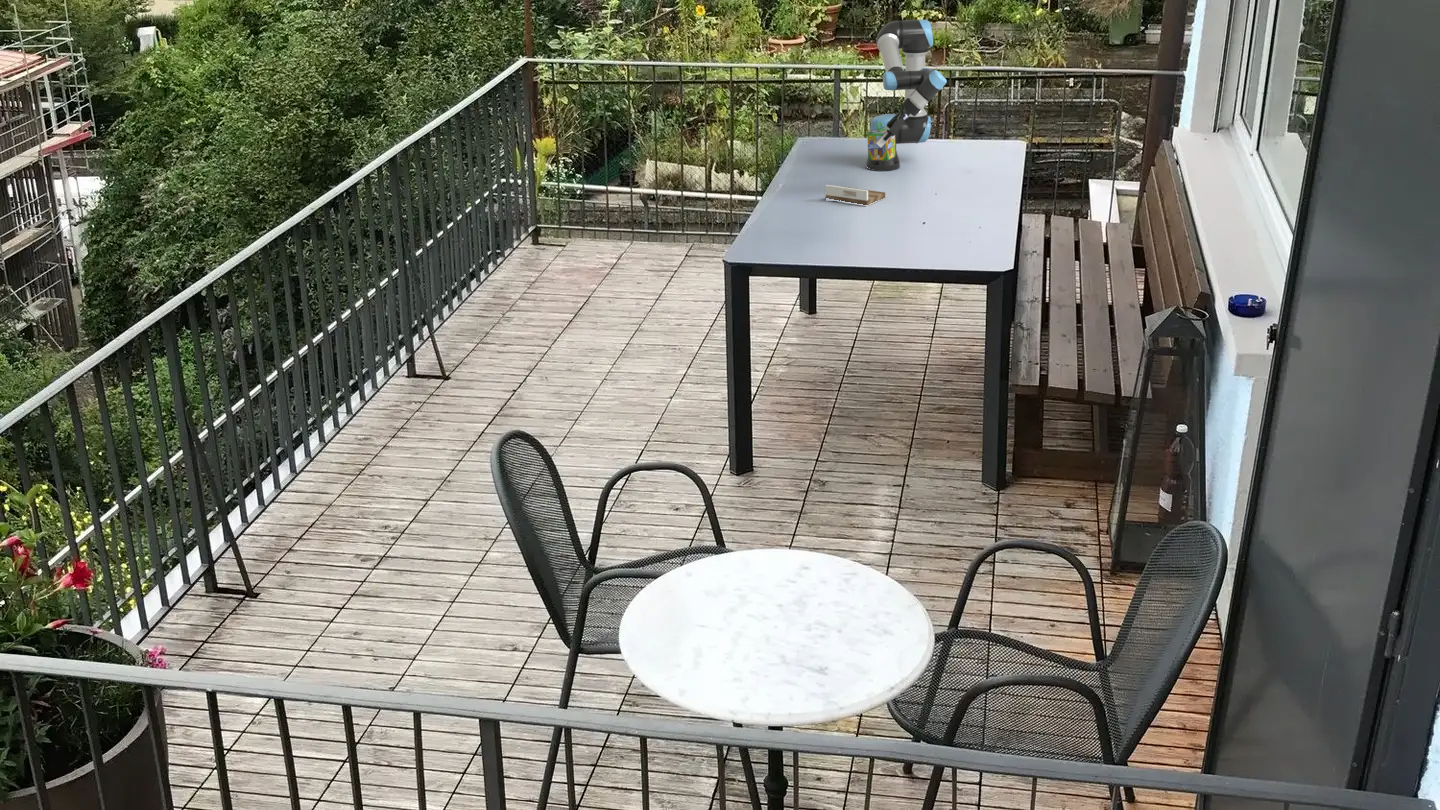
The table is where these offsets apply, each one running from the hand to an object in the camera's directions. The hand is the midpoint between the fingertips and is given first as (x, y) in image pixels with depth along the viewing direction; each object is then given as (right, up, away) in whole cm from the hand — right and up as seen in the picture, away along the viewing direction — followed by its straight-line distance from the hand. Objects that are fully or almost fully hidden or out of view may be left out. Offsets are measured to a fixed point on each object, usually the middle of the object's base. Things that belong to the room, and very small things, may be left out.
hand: (878, 142), depth 564 cm
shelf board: (-9, -24, +2) cm, 25 cm away
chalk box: (+2, -6, +2) cm, 7 cm away
